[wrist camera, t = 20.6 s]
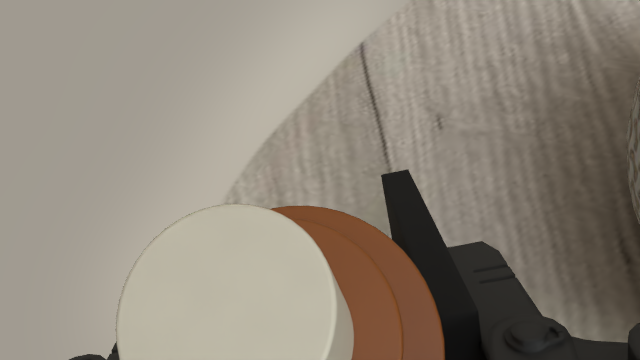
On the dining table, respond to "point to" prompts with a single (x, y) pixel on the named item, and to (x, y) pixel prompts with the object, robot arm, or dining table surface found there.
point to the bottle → (276, 291)
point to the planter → (634, 151)
